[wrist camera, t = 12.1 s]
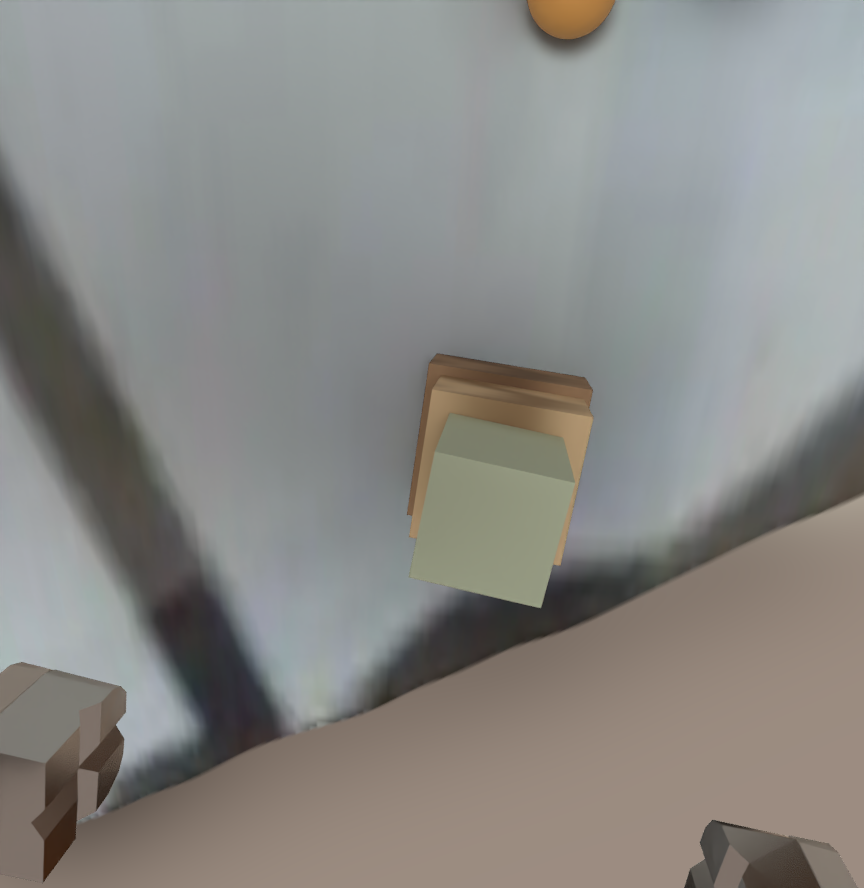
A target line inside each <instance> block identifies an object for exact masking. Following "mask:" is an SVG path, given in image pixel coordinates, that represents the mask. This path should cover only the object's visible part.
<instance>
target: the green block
mask: <svg viewBox="0 0 864 888" xmlns="http://www.w3.org/2000/svg"><path fill="white" fill-rule="evenodd" d="M574 486H575V480H574V476H573V472H572V469H571V465H570V461H569V457H568V454H567V450H566V446H565V442H564V439H563V437H558V436H554V435H549V434H544V433H540V432H535V431H531V430H526V429H522V428H517V427H513V426H508V425H504V424H499V423H495V422H490V421H486V420H481V419H476V418H472V417H467V416H463V415H458V414H454V413H450V414H449V416H448V419H447V421H446V424H445V427H444V429H443V432H442V434H441V437H440V439H439V442H438V445H437V447H436V450H435V453H434V458H433V463H432V467H431V472H430V477H429V482H428V487H427V491H426V496H425V501H424V506H423V511H422V515H421V520H420V525H419V530H418V535H417V539H416V544H415V549H414V554H413V559H412V563H411V568H410V573H409V577H410V578H414V579H418V580H423V581H427V582H431V583H435V584H440V585H444V586H448V587H452V588H457V589H461V590H465V591H469V592H474V593H478V594H482V595H486V596H491V597H495V598H499V599H504V600H508V601H512V602H516V603H521V604H525V605H529V606H533V607H538V608H541V606H542V602H543V599H544V595H545V591H546V588H547V584H548V580H549V577H550V573H551V570H552V566H553V562H554V559H555V555H556V551H557V548H558V544H559V541H560V537H561V533H562V530H563V526H564V522H565V519H566V515H567V512H568V508H569V504H570V501H571V497H572V493H573V490H574Z"/></svg>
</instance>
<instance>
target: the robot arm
mask: <svg viewBox="0 0 864 888" xmlns="http://www.w3.org/2000/svg"><path fill="white" fill-rule="evenodd" d="M125 713H126V691H125V690H124V689H123V688H122V687H121V686H118V685H114V684H110V683H106V682H102V681H98V680H94V679H90V678H86V677H82V676H78V675H74V674H70V673H66V672H62V671H58V670H51V669H47V668H43V667H39V666H35V665H31V664H27V663H23V662H20V663H17V664H13V665H10V666H9V667H7V668H6V669H5V670H4V671H2V672H1V673H0V874H1V875H6V876H11V877H16V878H21V879H25V880H30V881H35V882H40V883H43V882H44V881H45V880H46V878H47V877H48V876H49V874H50V873H51V871H52V870H53V869H54V867H55V866H56V865H57V863H58V862H59V861H60V859H61V858H62V857H63V855H64V854H65V853H66V851H67V850H68V849H69V847H70V846H71V845H72V843H73V842H74V841H75V839H76V825H77V821H78V820H80V819H82V818H84V817H86V816H88V815H90V814H92V813H94V812H96V811H97V809H98V808H99V806H100V805H101V804H102V802H103V801H104V799H105V798H106V797H107V795H108V794H109V792H110V789H111V787H112V785H113V783H114V781H115V779H116V776H117V774H118V772H119V769H120V765H121V760H122V756H123V749H124V738H123V736H122V734H121V733H120V731H119V730H118V728H117V726H116V724H117V722H118V721H119V720H120V719H121V717H122V716H123V715H124V714H125ZM700 845H701V847H702V850H703V854H704V857H705V859H704V860H703V861H701V862H700V863H698V864H697V865H695V866H694V867H692V868H691V869H690V871H689V874H688V877H687V880H686V884H685V887H684V888H858V887H857V885H856V883H855V882H854V880H853V878H852V877H851V874H850V873H849V871H848V869H847V868H846V866H845V864H844V862H843V860H842V858H841V857H840V855H839V853H838V852H837V851H836V850H835V849H834V848H833V847H832V846H831V845H829V844H828V843H824V842H818V841H813V840H808V839H804V838H799V837H793V836H788V837H787V836H784V835H780V834H775V833H771V832H767V831H762V830H757V829H752V828H748V827H744V826H739V825H734V824H730V823H725V822H720V821H716V820H712V821H711V822H710V823H709V824H708V825H707V827H706V828H705V830H704V833H703V835H702V838H701V841H700Z"/></svg>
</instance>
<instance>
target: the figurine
mask: <svg viewBox="0 0 864 888" xmlns="http://www.w3.org/2000/svg"><path fill="white" fill-rule="evenodd" d="M527 2H528V7H529V10H530V13H531V15H532V17H533V19H534V20H535V22H536V23H537V25H538V26H539V27H540V28H541V29H542V30H543V31H545V32H546V33H547V34H549V35H551V36H553V37H556V38H560V39H575V38H579V37H582V36H585V35H587V34H589V33H590V32H592V31H593V30H595V29H596V28H597V27H598V26H599V25H600V24H601V23H602V22H603V21H604V20H605V19H606V17H607V16H608V14H609V13H610V11H611V9H612V7H613V5H614V2H615V0H527Z"/></svg>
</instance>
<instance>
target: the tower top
mask: <svg viewBox="0 0 864 888" xmlns="http://www.w3.org/2000/svg"><path fill="white" fill-rule="evenodd" d="M450 413H454V414H458V415H463V416H467V417H472V418H476V419H481V420H486V421H490V422H495V423H499V424H504V425H508V426H513V427H517V428H522V429H526V430H531V431H535V432H540V433H544V434H549V435H554V436H558V437H563V439H564V442H565V446H566V450H567V454H568V457H569V461H570V465H571V469H572V472H573V476H574V480H575V486H574V490H573V493H572V497H571V501H570V504H569V508H568V512H567V515H566V519H565V522H564V526H563V530H562V533H561V537H560V541H559V544H558V548H557V551H556V555H555V559H554V562H553V564H554V565H559V566H560V565H561V560H562V556H563V551H564V547H565V542H566V538H567V534H568V529H569V525H570V520H571V516H572V511H573V507H574V502H575V498H576V493H577V489H578V484H579V480H580V476H581V471H582V467H583V462H584V458H585V453H586V449H587V444H588V440H589V435H590V431H591V426H592V422H593V416H592V414H591V412H590V410H589V408H588V406H587V404H586V402H585V400H584V399H580V398H574V397H568V396H562V395H556V394H551V393H545V392H539V391H533V390H527V389H521V388H516V387H510V386H504V385H498V384H492V383H487V382H481V381H475V380H469V379H463V378H458V377H452V376H446V375H441V376H440V378H439V379H438V381H437V383H436V384H435V386H434V387H433V389H432V394H431V400H430V406H429V413H428V419H427V426H426V432H425V439H424V445H423V451H422V458H421V464H420V471H419V477H418V483H417V490H416V496H415V503H414V509H413V516H412V522H411V528H410V535H409V537H411V538H417V535H418V530H419V525H420V520H421V515H422V511H423V506H424V501H425V496H426V491H427V487H428V482H429V477H430V472H431V467H432V463H433V458H434V453H435V450H436V447H437V445H438V442H439V439H440V437H441V434H442V432H443V429H444V427H445V424H446V421H447V419H448V416H449V414H450Z"/></svg>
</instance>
